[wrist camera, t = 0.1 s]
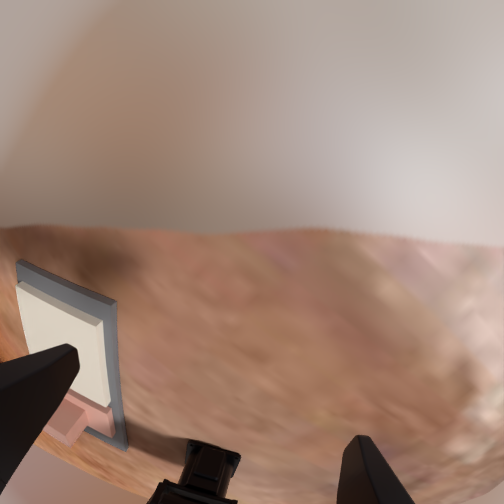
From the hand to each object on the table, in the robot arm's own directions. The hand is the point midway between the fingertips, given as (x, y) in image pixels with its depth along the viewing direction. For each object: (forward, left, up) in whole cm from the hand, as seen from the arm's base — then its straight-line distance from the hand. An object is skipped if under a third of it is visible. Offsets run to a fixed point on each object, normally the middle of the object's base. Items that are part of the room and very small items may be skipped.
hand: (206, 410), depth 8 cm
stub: (-26, +19, -13) cm, 35 cm away
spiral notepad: (-17, +19, -14) cm, 29 cm away
